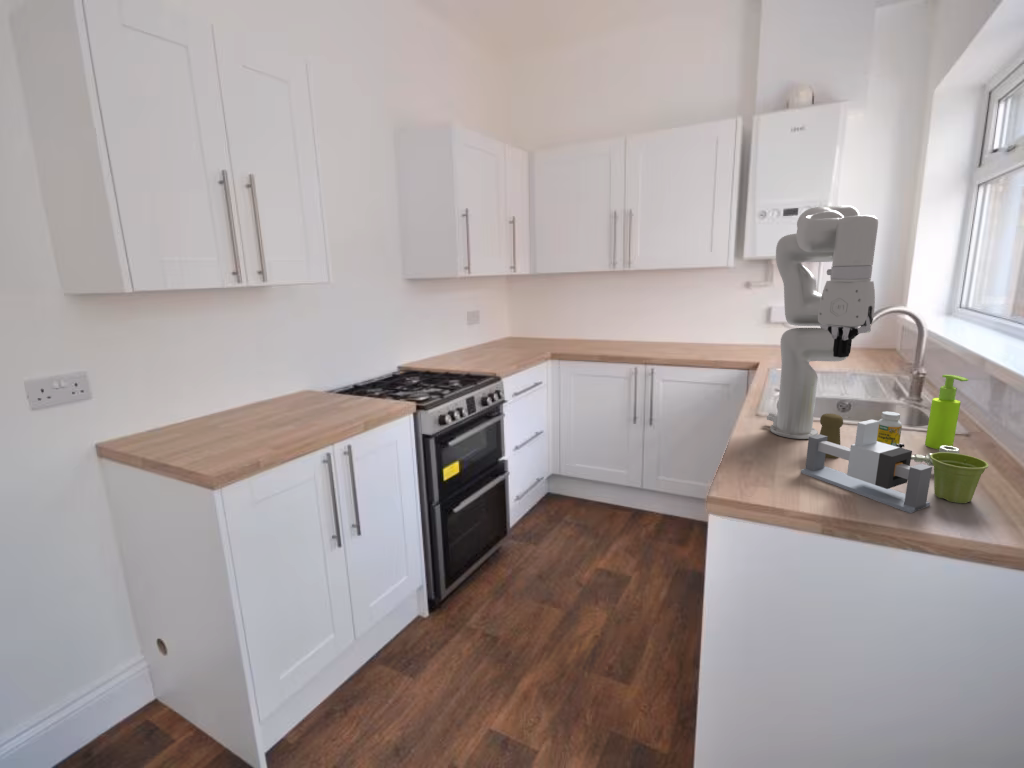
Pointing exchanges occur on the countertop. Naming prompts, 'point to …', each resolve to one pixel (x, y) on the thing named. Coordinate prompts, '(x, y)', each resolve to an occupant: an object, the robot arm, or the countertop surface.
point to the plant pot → (956, 475)
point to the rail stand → (906, 502)
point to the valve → (927, 457)
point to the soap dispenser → (944, 415)
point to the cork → (831, 429)
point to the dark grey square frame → (891, 467)
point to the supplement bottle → (889, 428)
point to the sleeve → (866, 452)
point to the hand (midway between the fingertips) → (840, 356)
